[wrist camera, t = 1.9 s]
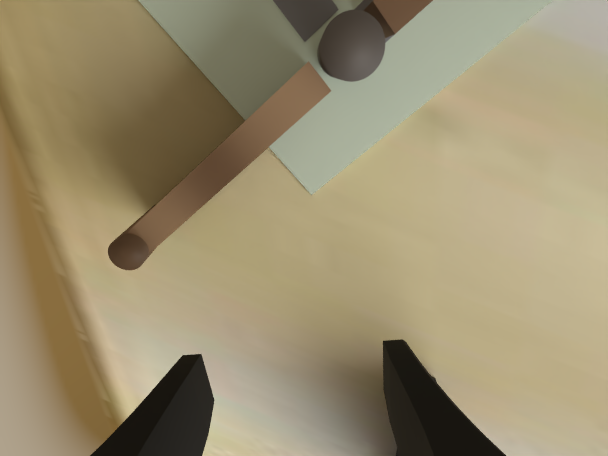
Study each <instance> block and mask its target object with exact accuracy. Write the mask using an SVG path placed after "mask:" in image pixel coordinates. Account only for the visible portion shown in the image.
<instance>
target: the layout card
mask: <svg viewBox="0 0 608 456" xmlns="http://www.w3.org/2000/svg"><path fill="white" fill-rule="evenodd" d="M138 1H139V2H140V3H141V4H142V5H143V6H144V7H145V9H146V10H147V11H148V12H149V13H150V14H151V15H152V16H153V17H154V19H155V20H156V21H157V22H158V23H159V24H160V25H161V26H162V28H163V29H164V30H165V31H166V32H167V33H168V34H169V35H170V37H171V38H172V39H173V40H174V41H175V42H176V43H177V44H178V46H179V47H180V48H181V49H182V50H183V51H184V52H185V53H186V55H187V56H188V57H189V58H190V59H191V60H192V61H193V62H194V64H195V65H196V66H197V67H198V68H199V69H200V70H201V71H202V73H203V74H204V75H205V76H206V77H207V78H208V79H209V80H210V82H211V83H212V84H213V85H214V86H215V87H216V88H217V89H218V91H219V92H220V93H221V94H222V95H223V96H224V97H225V98H226V100H227V101H228V102H229V103H230V104H231V105H232V106H233V107H234V109H235V110H236V111H237V112H238V113H239V114H240V115H241V116H242V118H243V119H244V120H245V121H246V120H247V119H248V118H249V117H250V116H251V115H252V114H253V113H254V112H255V111H256V110H257V109H258V108H259V107H261V106H262V105H263V104H264V103H265V102H266V101H267V100H268V99H269V98H270V97H271V96H272V95H273V94H274V93H275V92H276V91H278V90H279V89H280V88H281V87H282V86H283V85H284V84H285V83H286V82H287V81H288V80H289V79H290V78H291V77H292V76H293V75H294V74H296V73H297V72H298V71H299V70H300V69H301V68H302V67H303V66H304V65H305V64H306V63H307V62H308V61H309V62H310V64H311V65H312V66H313V68H314V69H315V70H316V71H317V73H318V74H319V75H320V77H321V78H322V79H323V80H324V82H325V83H326V84H327V86H328V87H329V88H330V90H331V92H330V93H329V94H327V95H326V96H325V97H324V98H323V99H322V100H321V101H320V102H319V103H317V104H316V105H315V106H314V107H313V108H312V109H311V110H310V111H308V112H307V113H306V114H305V115H304V116H303V117H302V118H301V119H299V120H298V121H297V122H296V123H295V124H294V125H293V126H292V127H291V128H289V129H288V130H287V131H286V132H285V133H284V134H283V135H282V136H280V137H279V138H278V139H277V140H276V141H275V142H274V143H273V144H271V145H270V146H269V148H270V149H271V150H272V151H273V152H274V153H275V155H276V156H277V157H278V158H279V159H280V160H281V161H282V162H283V164H284V165H285V166H286V167H287V168H288V169H289V170H290V171H291V173H292V174H293V175H294V176H295V177H296V178H297V179H298V180H299V182H300V183H301V184H302V185H303V186H304V187H305V188H306V189H307V191H308V192H309V193H310V194H311V195H312V194H313V193H315V192H316V191H317V190H318V189H320V188H321V187H322V186H323V185H325V184H326V183H327V182H328V181H330V180H331V179H332V178H333V177H335V176H336V175H337V174H338V173H340V172H341V171H342V170H343V169H344V168H346V167H347V166H348V165H349V164H351V163H352V162H353V161H354V160H356V159H357V158H358V157H359V156H361V155H362V154H363V153H364V152H366V151H367V150H368V149H369V148H370V147H372V146H373V145H374V144H375V143H377V142H378V141H379V140H380V139H382V138H383V137H384V136H385V135H387V134H388V133H389V132H390V131H392V130H393V129H394V128H395V127H396V126H398V125H399V124H400V123H401V122H403V121H404V120H405V119H406V118H408V117H409V116H410V115H411V114H413V113H414V112H415V111H416V110H418V109H419V108H420V107H421V106H423V105H424V104H425V103H426V102H427V101H429V100H430V99H431V98H432V97H434V96H435V95H436V94H437V93H439V92H440V91H441V90H442V89H444V88H445V87H446V86H447V85H449V84H450V83H451V82H452V81H453V80H455V79H456V78H457V77H458V76H460V75H461V74H462V73H463V72H465V71H466V70H467V69H468V68H470V67H471V66H472V65H473V64H475V63H476V62H477V61H478V60H479V59H481V58H482V57H483V56H484V55H486V54H487V53H488V52H489V51H491V50H492V49H493V48H494V47H496V46H497V45H498V44H499V43H501V42H502V41H503V40H504V39H506V38H507V37H508V36H509V35H510V34H512V33H513V32H514V31H515V30H517V29H518V28H519V27H520V26H522V25H523V24H524V23H525V22H527V21H528V20H529V19H530V18H532V17H533V16H534V15H535V14H536V13H538V12H539V11H540V10H541V9H543V8H544V7H545V6H546V5H548V4H549V3H550V2H551V1H553V0H433V1H432V2H431V3H429V4H428V5H427V6H426V7H425V8H424V9H423V10H422V11H420V12H419V13H418V14H417V15H416V16H415V17H414V18H413V19H412V20H410V21H409V22H408V23H407V24H406V25H405V26H404V27H403V28H401V29H400V30H399V31H398V32H397V33H396V34H394V35H392V36H389V37H387V38H385V52H384V56H383V59H382V61H381V63H380V65H379V66H378V68H377V69H376V70H375V71H374V72H373V73H372V74H371V75H370V76H368V77H366V78H365V79H362V80H359V81H354V82H348V81H343V80H340V79H337V78H333V77H331V76H329V75H327V74H326V73H325V72H324V71H323V70H322V68H321V66H320V64H319V61H318V56H317V51H318V45H319V42H320V40H321V38H322V35H323V33H324V31H325V29H326V27H327V25H328V24H329V23H330V21H331V20H332V19H333V18H335V17H336V16H337V15H339V14H340V13H342V12H345V11H348V10H362V11H364V10H365V8H366V7H367V6H368V5H369V4H370V3H371V2H372V1H373V0H138Z"/></svg>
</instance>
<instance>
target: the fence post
mask: <svg viewBox="0 0 608 456" xmlns="http://www.w3.org/2000/svg"><path fill="white" fill-rule="evenodd" d="M432 1H433V0H373V1H372V2H371V3H370V4H369V5H368V6H367V7H366V8H365V10H364V11H362V10H348V11H345V12H342V13H340V14H339V15H337V16H336V17H335V18H333V19H332V20H331V21H330V23H329V24H328V25H327V27H326V29H325V31H324V33H323V35H322V38H321V40H320V42H319V45H318V51H317V56H318V61H319V64H320V66H321V68H322V70H323V71H324V72H325V73H326V74H327V75H329V76H331V77H333V78H337V79H340V80H343V81H348V82H354V81H359V80H362V79H365V78H366V77H368V76H370V75H371V74H372V73H373V72H374V71H375V70H376V69H377V68H378V66H379V65H380V63H381V61H382V59H383V56H384V52H385V38H387V37H389V36H392V35H394V34H396V33H397V32H398V31H399V30H400V29H401V28H403V27H404V26H405V25H406V24H407V23H408V22H409V21H410V20H412V19H413V18H414V17H415V16H416V15H417V14H418V13H419V12H420V11H422V10H423V9H424V8H425V7H426V6H427V5H428V4H429V3H431V2H432Z"/></svg>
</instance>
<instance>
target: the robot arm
mask: <svg viewBox="0 0 608 456" xmlns="http://www.w3.org/2000/svg"><path fill="white" fill-rule="evenodd" d="M383 376H384V393H385V399H386V404H387V409H388V414H389V419H390V424H391V427H392V430H393V434H394V437H395V440H396V444H397V447H398V450H399V454H400V456H506V455H505V454H504V453H503V452H502V451H501V450H500V449H499V448H498V447H497V446H495V445H494V444H493V443H492V442H491V441H490V440H489V439H488V438H487V437H486V436H485V435H484V434H483V433H482V432H481V431H480V430H479V429H478V428H477V427H476V426H475V425H474V424H473V423H472V422H471V421H470V420H469V419H468V418H467V417H466V416H465V414H464V413H463V412H462V411H461V410H460V409H459V408H458V407H457V406H456V405H455V404H454V403H453V401H452V400H451V399H450V398H449V397H448V396H447V395H446V393H445V392H444V391H443V390H442V389H441V387H440V386H439V385H438V384H437V383H436V382H435V380H434V379H433V378H432V377H431V375H430V374H429V373H428V372H427V370H426V369H425V368H424V366H423V365H422V364H421V363H420V361H419V360H418V358H417V357H416V356H415V354H414V353H413V352H412V350H411V349H410V347H409V346H408V344H407V343H406V342H405V341H404V340H389V341H383ZM213 405H214V398H213V394H212V390H211V387H210V383H209V380H208V376H207V373H206V369H205V365H204V362H203V358H202V355H201V354H195V355H183V356H182V357H181V358H180V359H179V360H178V361H177V362H176V364H175V365H174V366H173V367H172V368H171V369H170V370H169V372H168V373H167V374H166V375H165V376H164V377H163V379H162V380H161V381H160V382H159V383H158V384H157V386H156V387H155V388H154V389H153V390H152V391H151V392H150V394H149V395H148V396H147V397H146V398H145V399H144V400H143V401H142V403H141V404H140V405H139V406H138V407H137V408H136V409H135V410H134V411H133V413H132V414H131V415H130V416H129V417H128V418H127V419H126V420H125V421H124V422H123V423H122V424H121V425H120V426H119V427H118V428H117V429H116V430H115V432H114V433H113V434H112V435H111V436H110V437H109V438H108V439H107V440H106V441H105V442H104V443H103V444H102V445H101V446H100V447H99V448H98V449H97V450H96V451H95V452H94V453H93V454H91V455H90V456H202V454H203V450H204V447H205V444H206V440H207V437H208V433H209V428H210V422H211V417H212V411H213Z"/></svg>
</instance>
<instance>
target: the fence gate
mask: <svg viewBox="0 0 608 456" xmlns="http://www.w3.org/2000/svg"><path fill="white" fill-rule="evenodd" d="M330 92H331V90H330V88H329V87H328V86H327V84H326V83H325V82H324V80H323V79H322V78H321V77H320V75H319V74H318V73H317V71H316V70H315V69H314V68H313V66H312V65H311V64H310V62H309V61H308V62H307V63H306V64H305V65H304V66H303V67H302V68H301V69H300V70H299V71H298V72H297V73H296V74H294V75H293V76H292V77H291V78H290V79H289V80H288V81H287V82H286V83H285V84H284V85H283V86H282V87H281V88H280V89H279V90H278V91H276V92H275V93H274V94H273V95H272V96H271V97H270V98H269V99H268V100H267V101H266V102H265V103H264V104H263V105H262V106H261V107H259V108H258V109H257V110H256V111H255V112H254V113H253V114H252V115H251V116H250V117H249V118H248V119H247V120H246V121H245V122H244V123H242V124H241V125H240V126H239V127H238V128H237V129H236V130H235V131H234V132H233V133H232V134H231V135H230V136H229V137H228V138H227V139H226V140H224V141H223V142H222V143H221V144H220V145H219V146H218V147H217V148H216V149H215V150H214V151H213V152H212V153H211V154H210V155H209V156H207V157H206V158H205V159H204V160H203V161H202V162H201V163H200V164H199V165H198V166H197V167H196V168H195V169H194V170H193V171H192V172H190V173H189V174H188V175H187V176H186V177H185V178H184V179H183V180H182V181H181V182H180V183H179V184H178V185H177V186H176V187H175V188H173V189H172V190H171V191H170V192H169V193H168V194H167V195H166V196H165V197H164V198H163V199H162V200H161V201H160V202H159V203H158V204H156V205H154V206H153V207H152V208H150V209H149V210H148V211H147V212H146V213H145V214H144V215H143V216H141V217H140V218H139V219H138V220H137V221H136V222H135V223H134V224H132V225H131V226H130V227H129V228H128V229H127V230H126V231H124V232H123V233H122V234H121V235H120V236H119V237H118V238H117V239H115V240H114V241H113V242H112V243H111V244H110V246H109V248H108V255H109V258H110V260H111V261H112V262H113V263H114V264H115V265H116V266H117V267H119V268H121V269H124V270H135V269H137V268H139V267H140V266H141V265H142V264H143V263H144V261H145V260H146V259H147V258H148V257H149V256H150V254H151V253H152V252H153V251H154V250H155V249H156V247H157V246H158V245H159V244H161V243H162V242H163V241H164V240H165V239H166V238H167V237H168V236H169V235H171V234H172V233H173V232H174V231H175V230H176V229H177V228H178V227H180V226H181V225H182V224H183V223H184V222H185V221H186V220H187V219H189V218H190V217H191V216H192V215H193V214H194V213H195V212H196V211H197V210H199V209H200V208H201V207H202V206H203V205H204V204H205V203H206V202H208V201H209V200H210V199H211V198H212V197H213V196H214V195H215V194H217V193H218V192H219V191H220V190H221V189H222V188H223V187H224V186H226V185H227V184H228V183H229V182H230V181H231V180H232V179H233V178H234V177H236V176H237V175H238V174H239V173H240V172H241V171H242V170H243V169H245V168H246V167H247V166H248V165H249V164H250V163H251V162H252V161H254V160H255V159H256V158H257V157H258V156H259V155H260V154H261V153H262V152H264V151H265V150H266V149H267V148H268V147H269V146H270V145H271V144H273V143H274V142H275V141H276V140H277V139H278V138H279V137H280V136H282V135H283V134H284V133H285V132H286V131H287V130H288V129H289V128H291V127H292V126H293V125H294V124H295V123H296V122H297V121H298V120H299V119H301V118H302V117H303V116H304V115H305V114H306V113H307V112H308V111H310V110H311V109H312V108H313V107H314V106H315V105H316V104H317V103H319V102H320V101H321V100H322V99H323V98H324V97H325V96H326V95H327V94H329V93H330Z"/></svg>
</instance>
